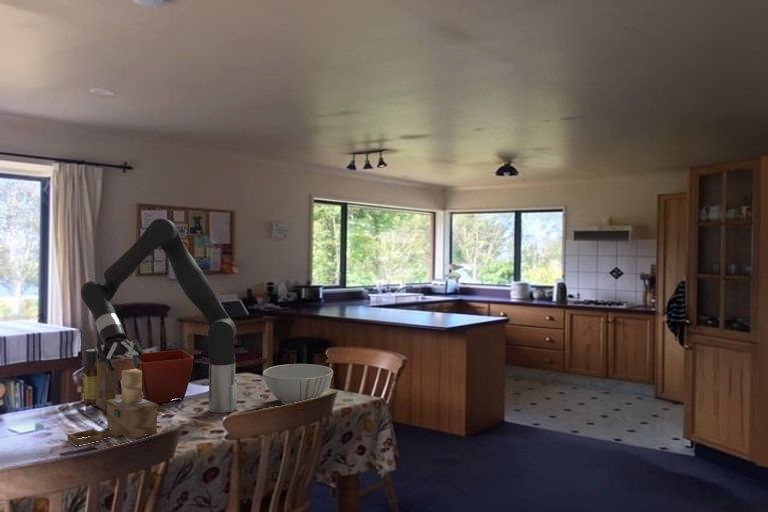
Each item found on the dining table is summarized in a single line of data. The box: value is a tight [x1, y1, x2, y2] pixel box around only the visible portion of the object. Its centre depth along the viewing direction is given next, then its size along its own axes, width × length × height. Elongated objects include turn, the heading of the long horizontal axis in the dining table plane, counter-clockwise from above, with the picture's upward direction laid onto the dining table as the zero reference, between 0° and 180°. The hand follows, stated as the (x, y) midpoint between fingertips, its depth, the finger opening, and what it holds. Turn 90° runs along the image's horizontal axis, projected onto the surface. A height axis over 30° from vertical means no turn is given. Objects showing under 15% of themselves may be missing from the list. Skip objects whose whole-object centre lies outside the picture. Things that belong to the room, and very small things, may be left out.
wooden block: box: [95, 359, 116, 413], centre depth 225 cm, size 4×11×18 cm, turn 42°
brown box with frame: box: [66, 396, 159, 447], centre depth 195 cm, size 23×17×10 cm
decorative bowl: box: [262, 363, 334, 405], centre depth 236 cm, size 27×27×12 cm
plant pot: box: [135, 349, 194, 404], centre depth 239 cm, size 19×19×17 cm
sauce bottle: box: [82, 348, 97, 404], centre depth 233 cm, size 6×6×20 cm
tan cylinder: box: [121, 368, 143, 404], centre depth 199 cm, size 5×5×10 cm
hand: (126, 368), depth 202 cm, fingers open, 8 cm apart
